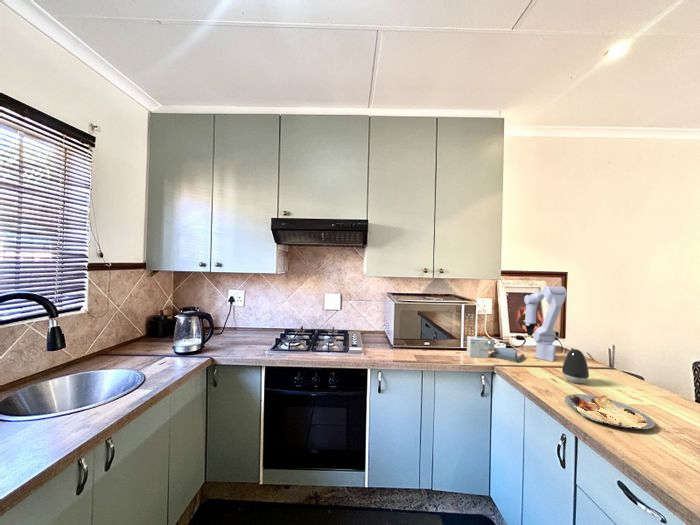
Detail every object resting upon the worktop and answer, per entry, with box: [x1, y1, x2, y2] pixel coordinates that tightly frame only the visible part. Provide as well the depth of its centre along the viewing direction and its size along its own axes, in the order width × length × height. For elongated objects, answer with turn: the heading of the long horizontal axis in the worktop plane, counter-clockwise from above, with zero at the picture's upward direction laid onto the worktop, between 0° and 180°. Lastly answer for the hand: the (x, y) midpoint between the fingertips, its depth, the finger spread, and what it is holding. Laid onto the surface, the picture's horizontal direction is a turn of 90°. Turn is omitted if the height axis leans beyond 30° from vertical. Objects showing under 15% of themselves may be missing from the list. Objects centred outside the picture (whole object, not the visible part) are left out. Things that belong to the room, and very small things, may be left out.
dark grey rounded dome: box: [561, 347, 590, 384], centre depth 145 cm, size 10×10×15 cm
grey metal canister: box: [488, 338, 496, 351], centre depth 195 cm, size 5×5×6 cm
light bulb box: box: [466, 335, 490, 359], centre depth 180 cm, size 11×7×11 cm, turn 86°
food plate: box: [564, 393, 655, 430], centre depth 113 cm, size 25×23×4 cm
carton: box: [497, 346, 518, 358], centre depth 180 cm, size 9×8×4 cm
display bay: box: [490, 348, 525, 364], centre depth 180 cm, size 14×13×2 cm
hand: (529, 335), depth 196 cm, fingers closed
